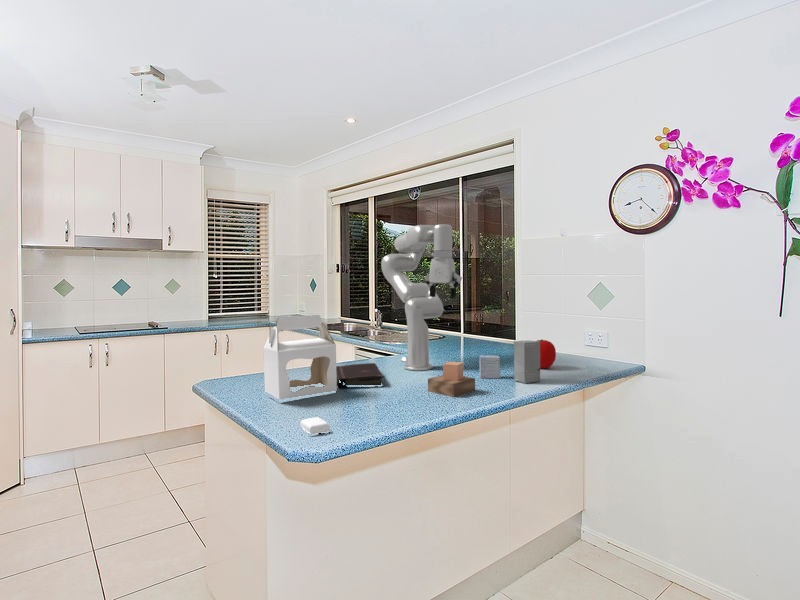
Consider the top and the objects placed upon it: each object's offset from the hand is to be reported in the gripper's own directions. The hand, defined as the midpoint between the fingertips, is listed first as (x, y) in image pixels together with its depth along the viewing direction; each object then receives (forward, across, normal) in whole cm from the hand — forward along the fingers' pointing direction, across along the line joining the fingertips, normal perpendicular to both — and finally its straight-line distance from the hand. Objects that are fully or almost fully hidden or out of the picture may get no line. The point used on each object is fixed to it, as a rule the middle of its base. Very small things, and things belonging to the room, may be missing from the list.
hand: (442, 297), depth 196 cm
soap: (+32, +8, -78) cm, 85 cm away
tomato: (+33, +28, +39) cm, 58 cm away
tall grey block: (+32, +32, +11) cm, 47 cm away
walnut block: (+32, +16, -20) cm, 41 cm away
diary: (+34, -23, -26) cm, 48 cm away
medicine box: (+32, +17, +9) cm, 38 cm away
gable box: (+33, -25, -54) cm, 68 cm away
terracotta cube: (+27, +17, -19) cm, 37 cm away
